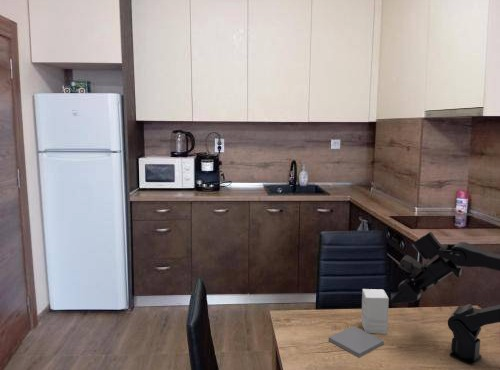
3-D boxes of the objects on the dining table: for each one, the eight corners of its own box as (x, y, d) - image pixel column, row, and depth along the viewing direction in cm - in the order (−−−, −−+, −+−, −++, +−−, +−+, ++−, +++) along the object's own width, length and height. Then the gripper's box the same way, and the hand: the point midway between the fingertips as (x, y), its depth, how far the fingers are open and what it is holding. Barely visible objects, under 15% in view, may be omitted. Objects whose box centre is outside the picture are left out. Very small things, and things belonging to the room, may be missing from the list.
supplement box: (382, 323, 141) (384, 288, 139) (387, 334, 134) (389, 298, 132) (360, 322, 142) (362, 288, 140) (364, 333, 135) (366, 297, 133)
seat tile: (383, 344, 128) (383, 340, 128) (359, 357, 121) (359, 353, 121) (352, 329, 137) (352, 325, 137) (328, 340, 130) (328, 337, 130)
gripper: (424, 242, 133) (389, 268, 142) (407, 257, 119) (369, 284, 127) (449, 271, 130) (411, 295, 138) (434, 289, 115) (393, 315, 123)
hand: (396, 296), depth 132 cm, fingers open, 9 cm apart
